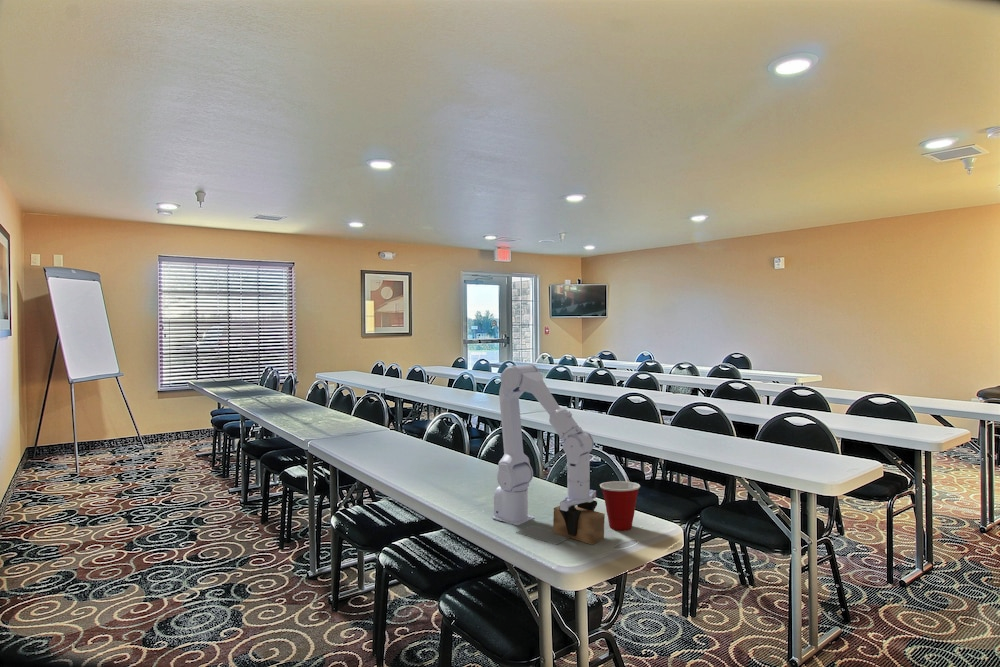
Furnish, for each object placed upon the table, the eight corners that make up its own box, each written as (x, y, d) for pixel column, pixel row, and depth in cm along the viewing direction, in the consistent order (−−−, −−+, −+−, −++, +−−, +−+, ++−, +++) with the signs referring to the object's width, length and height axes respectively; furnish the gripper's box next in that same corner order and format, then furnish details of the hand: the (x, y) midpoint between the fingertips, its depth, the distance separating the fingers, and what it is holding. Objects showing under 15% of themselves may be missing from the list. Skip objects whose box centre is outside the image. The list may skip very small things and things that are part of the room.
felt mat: (515, 533, 146) (515, 532, 146) (531, 526, 152) (531, 524, 152) (556, 545, 138) (556, 544, 138) (572, 537, 144) (572, 536, 143)
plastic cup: (622, 518, 158) (621, 476, 158) (648, 530, 149) (648, 485, 148) (591, 525, 153) (591, 481, 153) (617, 537, 143) (617, 491, 143)
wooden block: (553, 532, 146) (553, 507, 146) (564, 527, 150) (565, 503, 150) (592, 544, 138) (593, 518, 138) (603, 539, 142) (604, 513, 142)
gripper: (576, 488, 136) (576, 543, 136) (606, 476, 147) (606, 527, 147) (552, 483, 140) (552, 536, 140) (583, 471, 151) (583, 521, 151)
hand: (578, 531), depth 144 cm, fingers closed on wooden block, 6 cm apart
